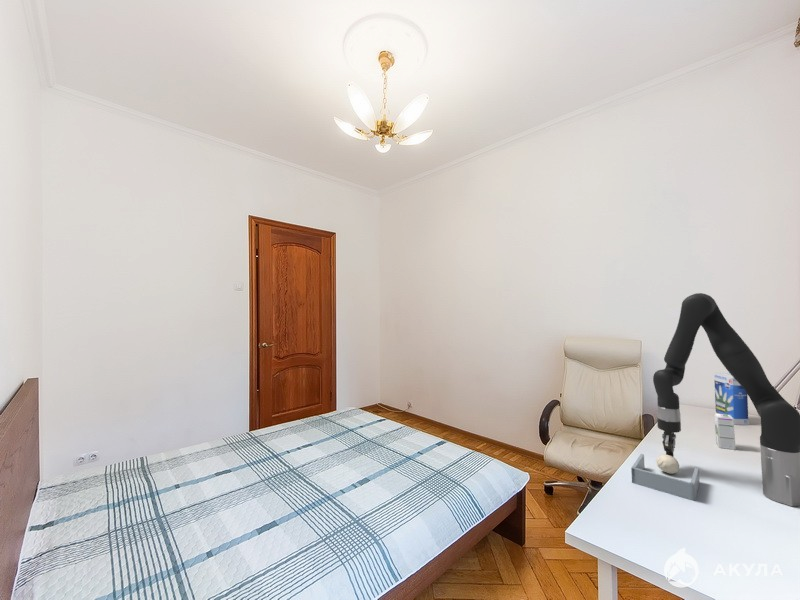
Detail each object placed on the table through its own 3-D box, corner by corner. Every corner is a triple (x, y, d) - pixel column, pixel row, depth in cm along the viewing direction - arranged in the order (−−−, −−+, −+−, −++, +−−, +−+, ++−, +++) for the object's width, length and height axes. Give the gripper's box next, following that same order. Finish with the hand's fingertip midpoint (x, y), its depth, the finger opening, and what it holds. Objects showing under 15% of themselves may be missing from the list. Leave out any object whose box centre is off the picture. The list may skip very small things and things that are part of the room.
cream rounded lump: (652, 468, 138) (651, 452, 138) (670, 467, 138) (669, 451, 138) (664, 477, 131) (664, 459, 131) (684, 476, 131) (683, 459, 131)
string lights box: (715, 417, 197) (713, 373, 198) (730, 417, 196) (727, 373, 197) (734, 425, 184) (731, 377, 185) (750, 425, 183) (747, 377, 184)
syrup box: (736, 450, 153) (734, 418, 153) (718, 447, 156) (717, 416, 156) (732, 445, 158) (730, 414, 158) (715, 443, 161) (713, 412, 161)
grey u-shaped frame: (641, 467, 139) (641, 453, 140) (699, 482, 126) (698, 467, 127) (631, 482, 127) (631, 467, 128) (694, 501, 115) (694, 484, 115)
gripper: (660, 412, 145) (661, 452, 145) (653, 419, 136) (655, 462, 136) (683, 416, 140) (684, 458, 140) (677, 424, 131) (679, 469, 131)
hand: (669, 460), depth 138 cm, fingers closed
